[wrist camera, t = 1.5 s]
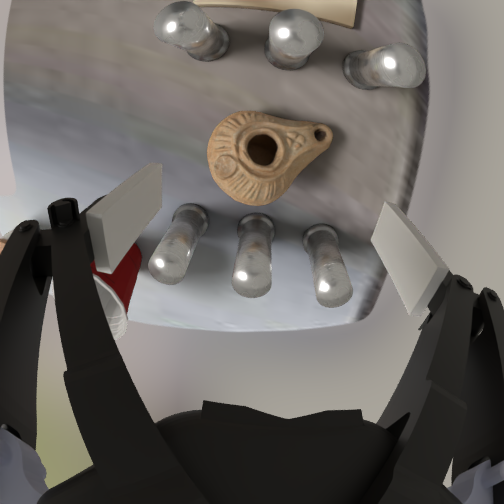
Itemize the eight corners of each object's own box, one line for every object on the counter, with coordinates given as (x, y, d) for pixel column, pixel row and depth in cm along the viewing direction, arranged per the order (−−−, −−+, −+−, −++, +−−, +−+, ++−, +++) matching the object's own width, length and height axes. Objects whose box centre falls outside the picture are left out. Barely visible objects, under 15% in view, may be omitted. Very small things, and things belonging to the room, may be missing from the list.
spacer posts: (190, 24, 20) (153, -1, 11) (384, 59, 20) (433, 52, 12) (174, 232, 34) (146, 283, 26) (331, 256, 35) (347, 312, 26)
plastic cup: (160, 226, 33) (121, 288, 24) (158, 287, 39) (131, 350, 30) (91, 211, 33) (40, 261, 23) (97, 270, 39) (61, 324, 29)
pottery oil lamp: (334, 173, 28) (352, 197, 23) (229, 191, 30) (220, 219, 25) (323, 96, 24) (340, 98, 18) (209, 117, 26) (191, 126, 20)
